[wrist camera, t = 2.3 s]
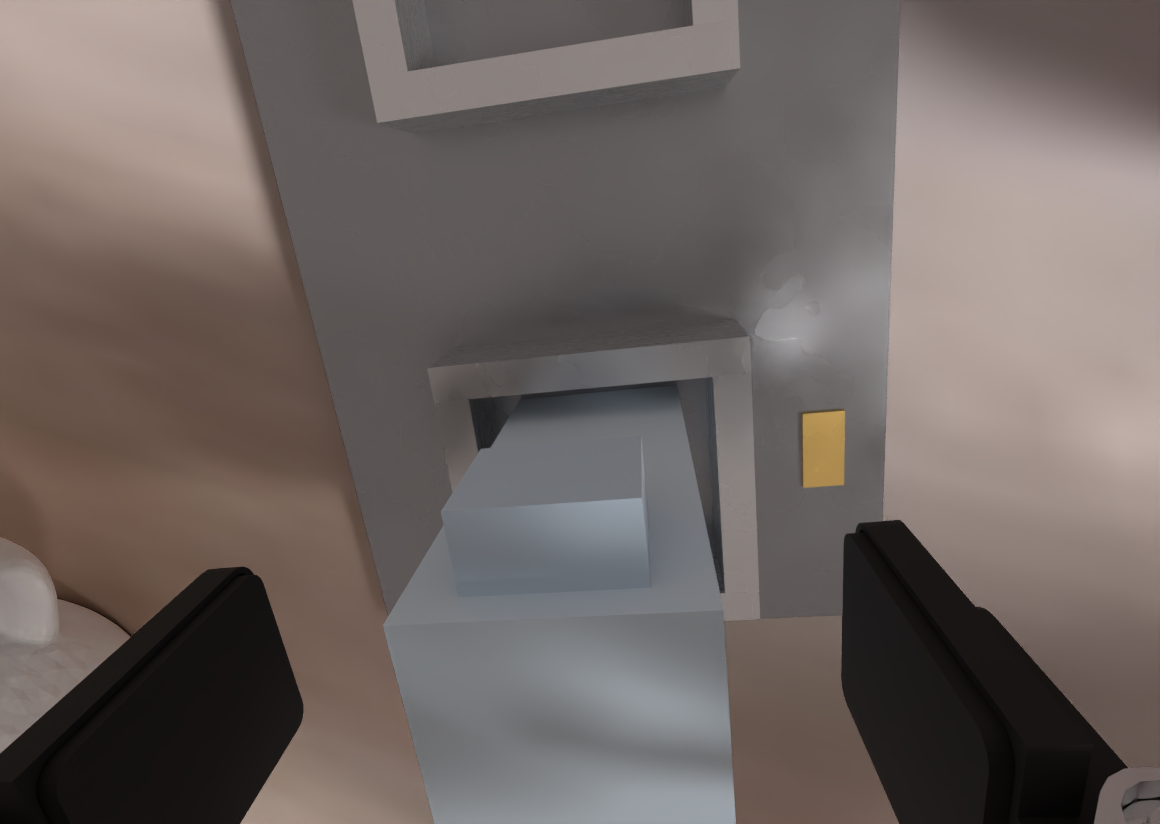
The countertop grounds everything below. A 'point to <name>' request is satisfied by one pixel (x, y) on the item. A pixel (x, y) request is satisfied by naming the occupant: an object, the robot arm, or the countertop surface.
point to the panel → (598, 247)
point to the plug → (571, 627)
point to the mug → (42, 642)
